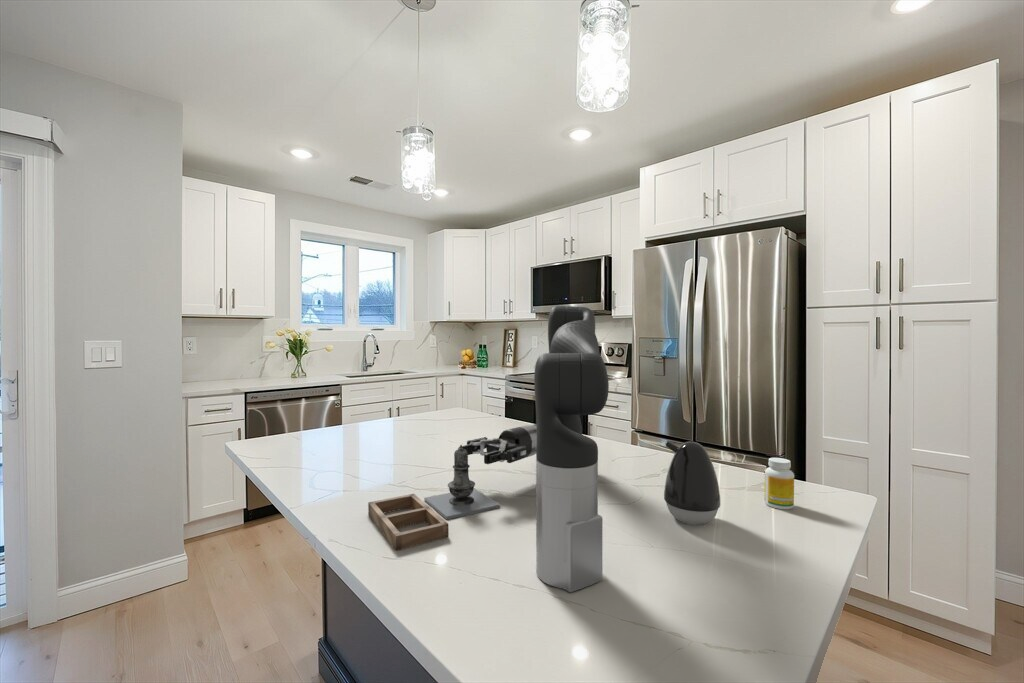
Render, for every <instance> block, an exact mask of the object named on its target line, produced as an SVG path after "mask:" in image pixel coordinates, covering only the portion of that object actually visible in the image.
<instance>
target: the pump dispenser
mask: <svg viewBox="0 0 1024 683" xmlns="http://www.w3.org/2000/svg"><path fill="white" fill-rule="evenodd" d="M665 447H667V448H668V449H670V450H671V451H672V452H673V453H674V454H673V457H672V458H671V461H670V464H669V466H668V469H667V473H666V479H665V483H664V491H663V498H664V501H665V503H666V507H667V509H668V511H669V513H670V514H671V516H673V518H675V519H676V520H677V521H679V522H681V523H683V524H687V525H691V526H701V525H706V524H708V523H710V522H711V521H713V520H714V519H715V517H716V516H717V514H718V511H719V509H720V508H721V493H720V486H719V481H718V477H717V474H716V470H715V466H714V464H713V461H712V459H711V458H710V455H709V453H708V452H707V450H706V448H705V447H704V446H703V445H702V444H700V443H698V442H695V441H685V442H684V443H682V444H680V445H679V446H678V445H676V444H674V443H673V442H670V441H666V443H665Z"/></svg>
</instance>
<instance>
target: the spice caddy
mask: <svg viewBox="0 0 1024 683" xmlns="http://www.w3.org/2000/svg"><path fill="white" fill-rule="evenodd" d="M367 503H368V504H367V506H368V508H367V510H368V514H367V515H368V516H369V515H370V516H369V517H370V518H371V520H372V519H373V520H372V521H373V523H374V524H375V523H376V524H375V525H376V526H377V528H378V527H379V528H378V529H379V530H380V531H381V533H382V534H383V536H384V537H385V538H386V540H387V541H388V542H389V544H390V545H391V546H392V548H393V549H394V550H395V551H399V550H404V549H407V548H411V547H415V546H420V545H423V544H427V543H431V542H435V541H439V540H443V539H446V538H449V523H448V522H447V521H446V519H445V518H443V517H441V516H440V514H439V513H438V512H437V511H435V510H434V509H433V508H432V507H431V506H430V505H429V504H427V503H426V502H425V501H424V500H422V499H421V498H420V497H419V496H418V495H416V494H415V493H411V494H405V495H400V496H395V497H389V498H385V499H379V500H378V499H377V500H375V501H369V502H367ZM405 508H406V509H410V508H411V509H410V510H405ZM398 509H401V510H405V511H402V512H401V511H400V512H397V513H392V514H387V515H385V513H384V512H386V513H390V512H389V511H391V512H394V511H393V510H396V511H399V510H398ZM425 522H426V523H427V526H423V527H419V528H414V529H409V530H406V531H405V530H404V531H401V532H400V531H399V530H398V529H399V528H403V527H408V526H413V525H416V524H422V523H425Z"/></svg>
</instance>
